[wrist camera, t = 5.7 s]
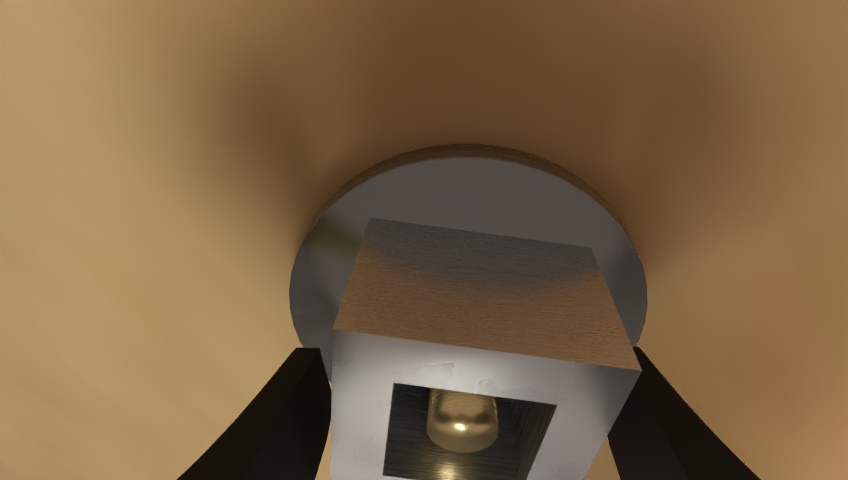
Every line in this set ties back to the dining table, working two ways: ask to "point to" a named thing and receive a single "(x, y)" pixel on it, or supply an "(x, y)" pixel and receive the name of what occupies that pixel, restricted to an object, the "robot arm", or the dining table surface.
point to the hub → (471, 211)
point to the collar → (474, 354)
